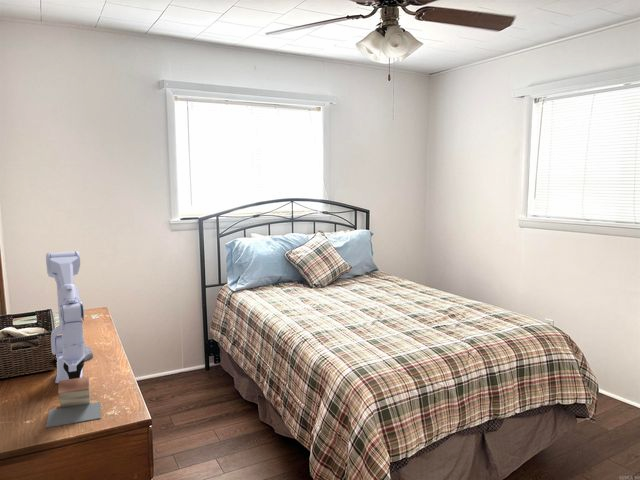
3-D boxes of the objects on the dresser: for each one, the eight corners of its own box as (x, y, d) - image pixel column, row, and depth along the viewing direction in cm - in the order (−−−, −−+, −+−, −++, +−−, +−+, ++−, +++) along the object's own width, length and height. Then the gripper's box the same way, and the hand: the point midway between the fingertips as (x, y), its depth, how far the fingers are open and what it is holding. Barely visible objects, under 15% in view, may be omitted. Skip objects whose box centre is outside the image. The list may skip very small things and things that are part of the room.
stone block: (96, 361, 182) (83, 350, 188) (96, 351, 181) (83, 339, 186) (64, 373, 173) (51, 360, 178) (64, 361, 171) (51, 349, 177)
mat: (49, 410, 143) (49, 409, 143) (100, 402, 148) (100, 401, 148) (45, 428, 134) (45, 427, 134) (100, 418, 139) (100, 417, 139)
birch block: (61, 396, 147) (58, 380, 141) (90, 392, 150) (88, 376, 144) (61, 408, 144) (58, 392, 139) (90, 403, 148) (88, 388, 142)
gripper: (60, 335, 149) (62, 376, 151) (55, 352, 136) (58, 397, 138) (85, 333, 152) (86, 372, 154) (83, 349, 139) (85, 393, 141)
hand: (75, 384), depth 146 cm, fingers closed
